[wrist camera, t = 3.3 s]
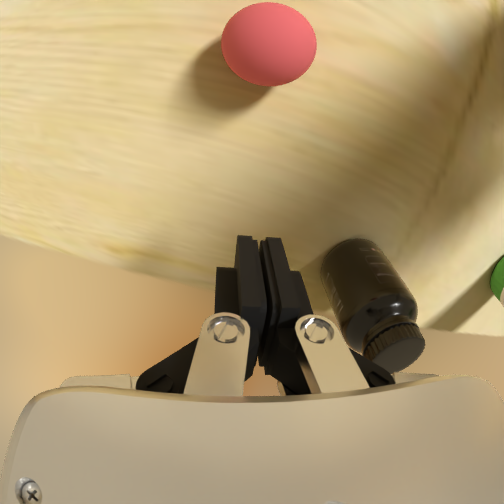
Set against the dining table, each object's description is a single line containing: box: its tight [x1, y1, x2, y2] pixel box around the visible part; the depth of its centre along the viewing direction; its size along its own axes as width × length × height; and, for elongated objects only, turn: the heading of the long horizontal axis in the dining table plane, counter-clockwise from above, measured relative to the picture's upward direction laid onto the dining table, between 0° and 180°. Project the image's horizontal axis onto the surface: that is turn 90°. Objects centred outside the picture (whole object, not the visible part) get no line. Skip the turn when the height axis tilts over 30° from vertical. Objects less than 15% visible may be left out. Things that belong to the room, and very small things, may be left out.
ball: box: [221, 2, 317, 86], centre depth 15 cm, size 6×6×6 cm
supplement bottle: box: [321, 239, 425, 374], centre depth 24 cm, size 7×7×12 cm
